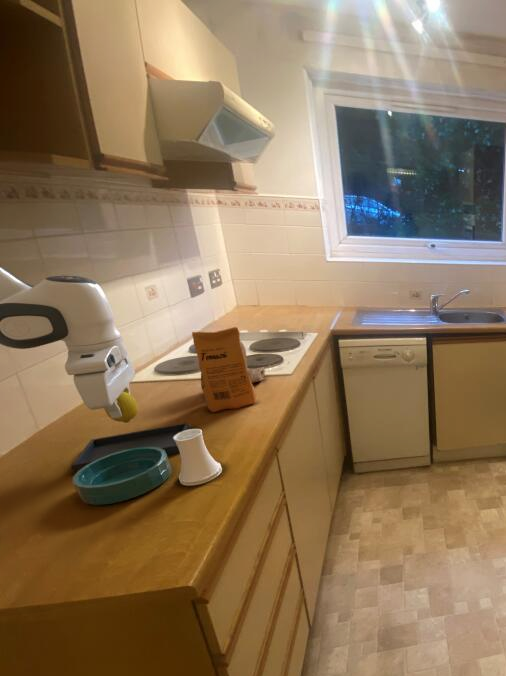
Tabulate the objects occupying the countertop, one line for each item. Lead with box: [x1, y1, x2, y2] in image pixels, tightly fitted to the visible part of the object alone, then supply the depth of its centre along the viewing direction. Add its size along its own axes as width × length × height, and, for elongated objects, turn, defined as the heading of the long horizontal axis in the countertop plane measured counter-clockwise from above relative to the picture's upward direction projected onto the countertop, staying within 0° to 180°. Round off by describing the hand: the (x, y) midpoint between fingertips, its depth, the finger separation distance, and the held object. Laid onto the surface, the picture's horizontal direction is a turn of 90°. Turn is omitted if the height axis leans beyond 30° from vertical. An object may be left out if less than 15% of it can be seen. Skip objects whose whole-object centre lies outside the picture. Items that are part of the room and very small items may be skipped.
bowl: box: [72, 447, 173, 506], centre depth 89 cm, size 15×15×4 cm
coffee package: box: [191, 326, 257, 413], centre depth 121 cm, size 10×12×22 cm
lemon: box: [103, 392, 139, 424], centre depth 98 cm, size 6×6×8 cm
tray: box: [70, 422, 192, 474], centre depth 102 cm, size 19×12×2 cm, turn 116°
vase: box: [173, 428, 223, 487], centre depth 91 cm, size 8×8×10 cm
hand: (122, 410), depth 98 cm, fingers closed on lemon, 5 cm apart
